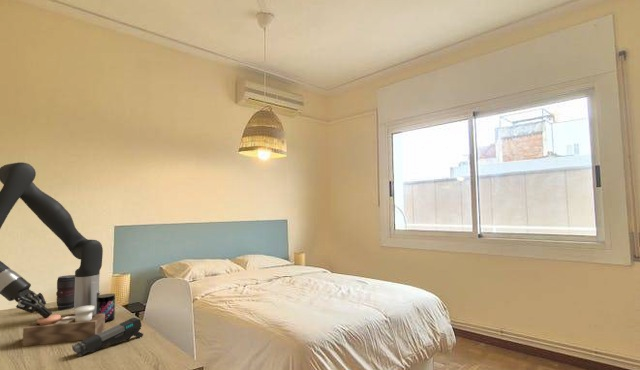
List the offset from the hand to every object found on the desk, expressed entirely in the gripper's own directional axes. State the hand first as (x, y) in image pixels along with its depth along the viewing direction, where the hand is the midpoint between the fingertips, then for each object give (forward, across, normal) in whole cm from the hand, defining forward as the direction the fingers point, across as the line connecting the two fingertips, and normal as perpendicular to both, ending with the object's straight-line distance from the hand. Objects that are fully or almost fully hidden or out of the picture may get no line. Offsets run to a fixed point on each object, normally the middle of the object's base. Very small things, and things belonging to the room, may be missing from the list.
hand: (49, 315), depth 124 cm
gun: (+23, -14, -11) cm, 29 cm away
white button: (+11, 0, -4) cm, 12 cm away
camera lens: (-3, +45, +14) cm, 47 cm away
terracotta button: (+5, 0, +5) cm, 8 cm away
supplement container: (+15, +17, -3) cm, 23 cm away
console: (+10, 0, +2) cm, 10 cm away
